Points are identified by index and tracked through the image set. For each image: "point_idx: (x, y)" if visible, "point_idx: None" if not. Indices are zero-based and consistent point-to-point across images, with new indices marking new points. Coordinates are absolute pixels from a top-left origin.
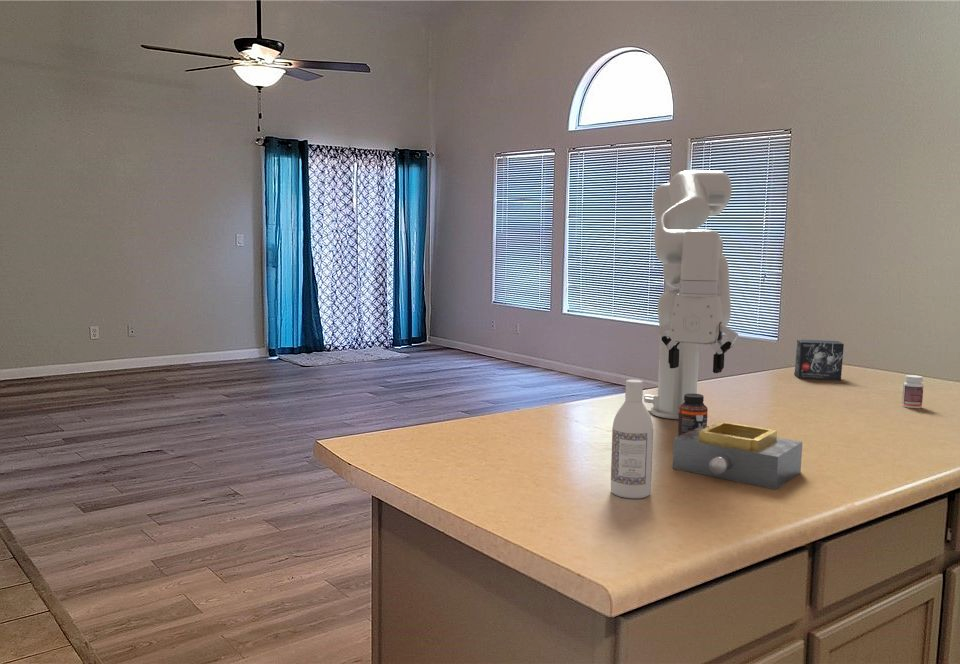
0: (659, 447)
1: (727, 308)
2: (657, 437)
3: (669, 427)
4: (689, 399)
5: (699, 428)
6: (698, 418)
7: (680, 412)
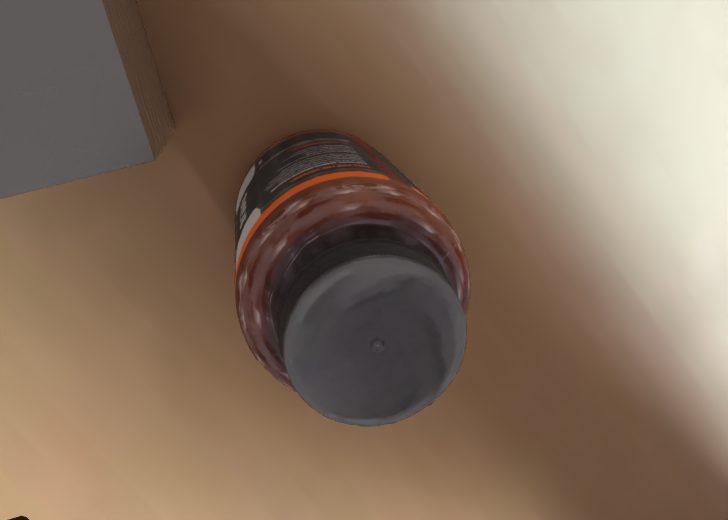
0: (426, 34)
1: None
2: (567, 213)
3: (641, 428)
4: (356, 247)
5: (92, 44)
6: (248, 223)
7: (402, 182)
